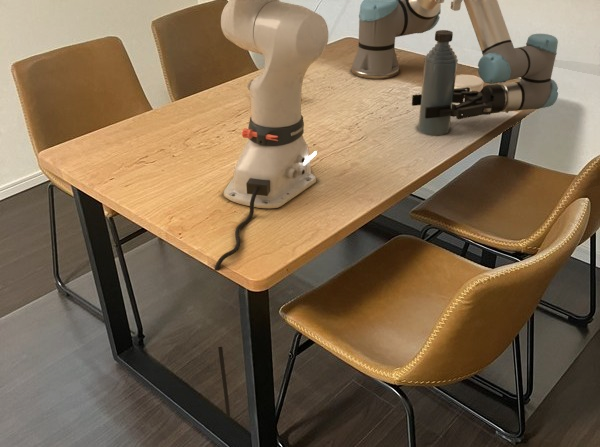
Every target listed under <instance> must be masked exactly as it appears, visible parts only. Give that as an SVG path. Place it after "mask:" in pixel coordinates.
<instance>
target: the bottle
mask: <svg viewBox="0 0 600 447" xmlns="http://www.w3.org/2000/svg"><path fill="white" fill-rule="evenodd" d="M458 60H459V59H458V56H457V55H456V53H455V51H453V48H452V47H451V45H450V42H438V41H436V44H434V46H433V47H432V48H431V49H430V50H429V51H428V53H427V54H426V55H425V57H424V62H423V73H422V81H421V83H422V85H421V103H420V105H419V113H418V124H417V129H418V131H419V132H420V133H422V134H424V135H429V136H443V135H446V134H448V133H449V132H450V127H451V120H452V119H451V116H445V117H436V118H427V119H426V118H425V109H426V107H435V106H444V105H450V106H451V108H452V104H454V103H453V95H454V87H455V79H456V75H457V71H458V64H459V61H458Z"/></svg>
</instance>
